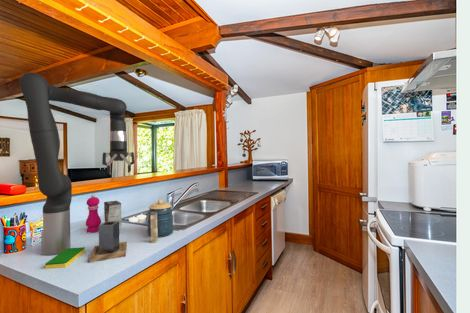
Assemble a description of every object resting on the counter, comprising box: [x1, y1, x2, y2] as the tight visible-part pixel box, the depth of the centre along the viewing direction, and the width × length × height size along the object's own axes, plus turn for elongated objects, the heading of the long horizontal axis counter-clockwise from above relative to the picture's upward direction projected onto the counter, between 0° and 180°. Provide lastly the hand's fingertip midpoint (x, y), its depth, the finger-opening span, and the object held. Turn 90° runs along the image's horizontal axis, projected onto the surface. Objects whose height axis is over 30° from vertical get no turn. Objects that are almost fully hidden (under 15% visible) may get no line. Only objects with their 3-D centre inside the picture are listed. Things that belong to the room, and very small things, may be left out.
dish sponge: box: [44, 246, 86, 270], centre depth 89 cm, size 7×14×2 cm, turn 9°
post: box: [150, 212, 159, 244], centre depth 106 cm, size 2×2×14 cm
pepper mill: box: [85, 194, 102, 234], centre depth 124 cm, size 7×7×20 cm
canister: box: [146, 199, 175, 238], centre depth 118 cm, size 13×13×18 cm
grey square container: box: [98, 221, 120, 255], centre depth 95 cm, size 6×7×12 cm
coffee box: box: [103, 200, 123, 235], centre depth 120 cm, size 9×6×16 cm
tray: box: [89, 241, 128, 263], centre depth 94 cm, size 12×12×2 cm
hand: (119, 173), depth 113 cm, fingers open, 8 cm apart
